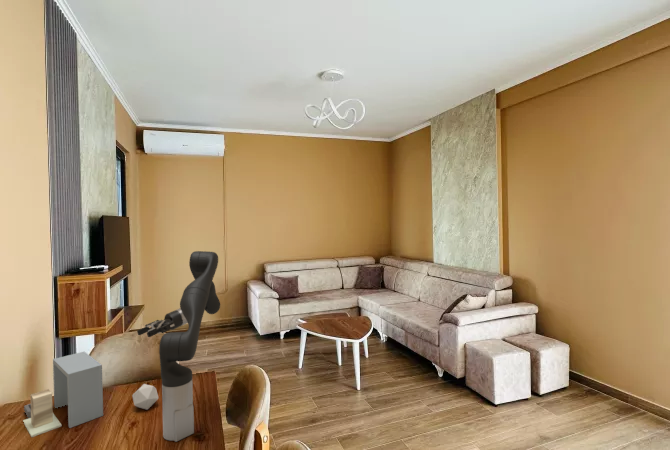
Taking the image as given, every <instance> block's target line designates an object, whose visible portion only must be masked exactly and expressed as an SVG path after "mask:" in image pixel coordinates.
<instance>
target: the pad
mask: <svg viewBox="0 0 670 450" xmlns="http://www.w3.org/2000/svg"><path fill="white" fill-rule="evenodd" d="M22 422H24V423H23V424H24V426H25V428H26V430H27V432H28V434H29V435H30V437H31V438H34V437H36V436H38V435H42V434H44V433H47V432H50V431H52V430H56V429H58V428H61V427H62V423H61V422H60V421H59V419H58V418H57V417H56V415H55V414H54V413H53V422H51V423H48V424H45V425H42V426H40V427H37V428H34V427H33V425H32V423H31V418H26V419H23V420H22Z"/></svg>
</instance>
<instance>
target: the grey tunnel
mask: <svg viewBox="0 0 670 450" xmlns="http://www.w3.org/2000/svg"><path fill="white" fill-rule="evenodd" d="M52 371H53V373H52V374H53V375H52V376H53V379H52V380H53V408H54V407H55V408H57V409H58V407H60V408H62V406H63V407H66V406H67V416H68V417H67V418H68V419H67V421H68V422H67V423H68V424H67V426H68V428H69V429H72V428H73V427H74V428H75V427H77V426H79V425H81V424H84V423H87V422H90V421H92V420H95V419H97V418H100V417H104V402H103V400H104V397H103V395H104V394H103V393H104V391H103V387H104V386H103V364H101V363H100V362H99V361H97V360H96V359H95V358H93V357H92V356H91V355H90V354H88V353H87V352H85V351H81V352H80V351H79V352H77V353H72V354H68V355H65V356H60V357H55V358H52ZM65 405H66V406H65ZM55 408H54V409H55Z"/></svg>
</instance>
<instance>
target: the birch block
mask: <svg viewBox="0 0 670 450" xmlns="http://www.w3.org/2000/svg"><path fill="white" fill-rule="evenodd" d="M29 396H30V404H31V423H32V425H33V427H34V428H37V427H40V426H42V425H45V424H48V423H51V422H53V414H54V412H53V408H54V407H53V393H52V391H51V390H50V389H49V388H48V389H44V390H41V391H38V392H35V393H31V394H30V395H29Z"/></svg>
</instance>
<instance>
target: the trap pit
mask: <svg viewBox="0 0 670 450" xmlns="http://www.w3.org/2000/svg"><path fill="white" fill-rule="evenodd" d="M23 411H25V413H26V415H27V416H26V415H25V416H26V418H27V417H28V418H31V403H28V404H26V405H23ZM25 413H24V414H25ZM28 418H27V419H28Z"/></svg>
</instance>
